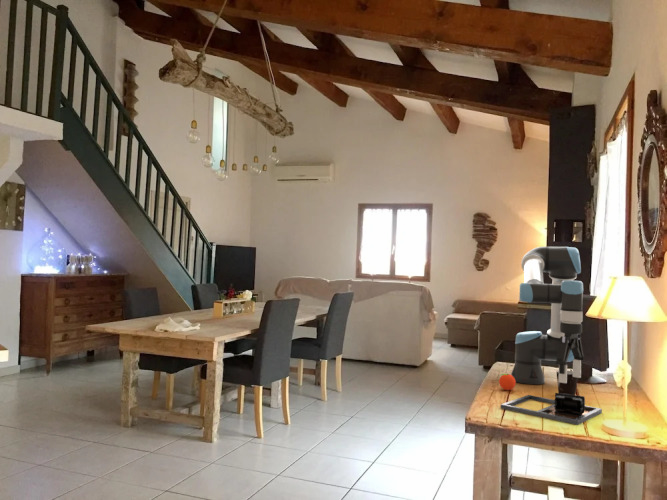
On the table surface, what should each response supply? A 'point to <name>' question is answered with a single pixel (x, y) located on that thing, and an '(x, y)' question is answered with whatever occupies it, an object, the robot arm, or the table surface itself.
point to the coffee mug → (567, 384)
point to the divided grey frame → (550, 410)
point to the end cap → (569, 404)
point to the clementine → (507, 381)
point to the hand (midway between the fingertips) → (569, 379)
